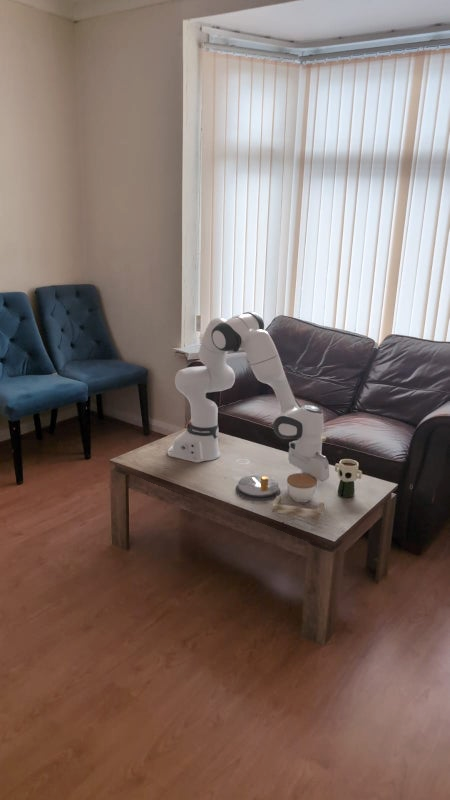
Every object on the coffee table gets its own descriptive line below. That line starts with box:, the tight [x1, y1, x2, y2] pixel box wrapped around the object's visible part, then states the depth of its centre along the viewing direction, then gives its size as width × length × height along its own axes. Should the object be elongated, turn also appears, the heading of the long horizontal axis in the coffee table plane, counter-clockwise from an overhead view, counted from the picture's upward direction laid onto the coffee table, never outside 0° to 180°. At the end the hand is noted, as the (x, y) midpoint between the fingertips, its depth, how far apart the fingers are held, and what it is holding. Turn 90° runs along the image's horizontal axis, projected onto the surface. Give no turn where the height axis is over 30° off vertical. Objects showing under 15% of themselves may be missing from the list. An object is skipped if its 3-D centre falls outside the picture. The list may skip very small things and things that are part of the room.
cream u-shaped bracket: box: [271, 495, 325, 520], centre depth 218 cm, size 17×8×2 cm, turn 74°
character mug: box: [334, 458, 363, 498], centre depth 230 cm, size 11×7×13 cm, turn 52°
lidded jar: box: [286, 472, 318, 503], centre depth 226 cm, size 11×11×9 cm
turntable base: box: [235, 484, 282, 502], centre depth 232 cm, size 17×17×1 cm
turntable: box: [237, 475, 279, 498], centre depth 231 cm, size 15×15×7 cm
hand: (307, 482), depth 233 cm, fingers closed
